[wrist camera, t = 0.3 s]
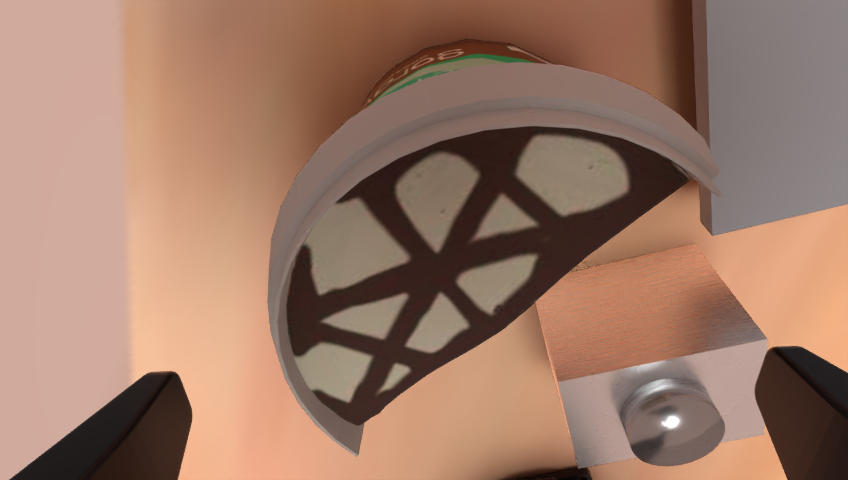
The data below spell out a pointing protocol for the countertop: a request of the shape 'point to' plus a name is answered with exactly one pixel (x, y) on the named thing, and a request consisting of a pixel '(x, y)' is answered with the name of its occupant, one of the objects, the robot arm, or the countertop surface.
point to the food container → (455, 216)
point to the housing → (652, 359)
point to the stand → (771, 108)
